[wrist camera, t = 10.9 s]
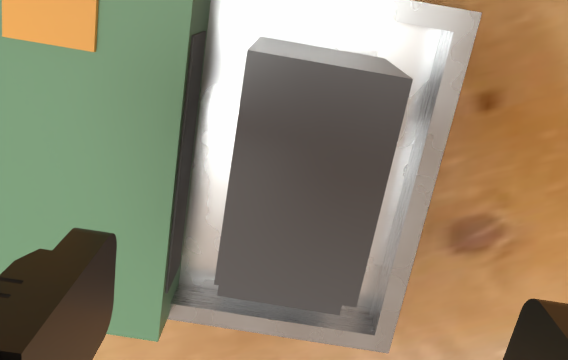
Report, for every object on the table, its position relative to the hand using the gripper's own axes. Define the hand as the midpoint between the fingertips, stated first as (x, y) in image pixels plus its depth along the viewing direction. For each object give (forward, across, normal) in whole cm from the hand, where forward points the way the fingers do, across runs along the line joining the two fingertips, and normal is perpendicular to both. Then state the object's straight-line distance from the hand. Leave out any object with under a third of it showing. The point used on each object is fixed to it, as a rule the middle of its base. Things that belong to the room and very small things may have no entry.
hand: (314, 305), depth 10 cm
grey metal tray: (+13, 0, +2) cm, 13 cm away
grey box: (+13, 0, 0) cm, 13 cm away
